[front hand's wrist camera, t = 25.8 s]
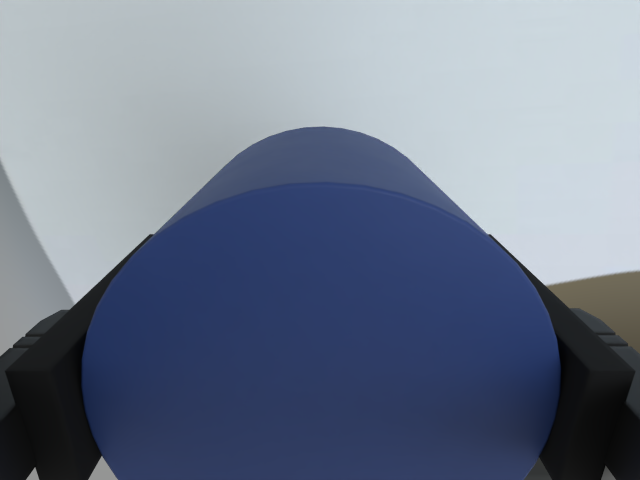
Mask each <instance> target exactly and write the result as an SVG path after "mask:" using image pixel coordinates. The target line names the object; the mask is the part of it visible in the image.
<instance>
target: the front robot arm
mask: <svg viewBox="0 0 640 480" xmlns="http://www.w3.org/2000/svg"><path fill="white" fill-rule="evenodd" d="M153 235H154V234H150V235H149V236H148V237H146V238H145V239H144V240H143V241H142V242H141V243H140V244H139V245H138V246H137V247H136V248H135V249H134V250H133V251H132V252H131V253H129V254H128V255H127V256H126V257H125V258H124V259H123V260H122V261H121V262H120V263H119V264H118V265H117V266H116V267H115V268H114V269H112V270H111V271H110V272H109V273H108V274H107V275H106V276H105V277H104V278H103V279H102V280H101V281H100V282H99V283H98V284H97V285H95V286H94V287H93V288H92V289H91V290H90V291H89V292H88V293H87V294H86V295H85V296H84V297H83V298H82V299H81V300H80V301H79V302H77V303H76V304H75V305H74V306H73V307H72V308H71V309H70V310H60V311H58V312H57V313H55V314H53V315H51V316H49V317H47V318H45V319H43V320H42V321H40V322H39V323H38V324H37V325H35V326H34V327H33V328H32V329H31V330H30V331H29V332H28V333H26V336H25V337H22V338H21V339H20V340H18V341H17V342H16V343H15V344H14V345H13V348H9V349H8V350H7V351H6V352H5V353H4V354H3V355H1V356H0V480H26V479H27V477H28V476H29V475H30V473H31V472H32V470H33V469H34V468H35V467H36V471H37V474H38V477H39V480H88V479H89V477H90V475H91V474H92V472H93V470H94V468H95V466H96V465H97V463H98V461H99V460H100V458H101V456H102V454H101V452H100V450H99V448H98V446H97V444H96V442H95V440H94V438H93V436H92V433H91V430H90V426H89V423H88V420H87V417H86V413H85V409H84V402H83V395H82V388H81V374H82V356H83V351H84V346H85V340H86V335H87V331H88V328H89V326H90V323H91V320H92V318H93V315H94V312H95V310H96V307H97V305H98V303H99V301H100V300H101V298H102V296H103V294H104V293H105V291H106V289H107V288H108V286H109V284H110V282H111V281H112V279H113V278H114V277H115V276H116V275H117V273H118V272H119V271H120V270H121V268H122V267H123V266H124V265H125V264H126V262H127V261H128V260H129V259H130V257H131V256H132V255H133V254H134V253H135V252H136V251H138V250H139V249H140V248H141V247H142V246H143V245H144V244H145V243H146V242H147V241H148V240H149V239H150V238H151V237H152V236H153ZM488 235H489V236H490V237H491V238H492V239H493V240H494V241H495V242H496V243H497V244H498V245H499V246H500V247H501V248H502V249H503V250H504V251H505V252H506V253H507V254H508V255H509V256H510V257H511V258H512V259H513V260H514V261H515V262H516V263H517V264H518V265H519V266H520V268H521V269H522V270H523V272H524V273H525V274H526V276H527V277H528V279H529V280H530V281H531V283H532V284H533V285H534V287H535V288H536V290H537V292H538V294H539V296H540V298H541V300H542V302H543V304H544V305H545V307H546V309H547V311H548V313H549V316H550V319H551V323H552V326H553V329H554V332H555V335H556V338H557V344H558V351H559V358H560V365H561V384H560V397H559V403H558V408H557V413H556V417H555V421H554V424H553V426H552V429H551V432H550V435H549V438H548V440H547V443H546V445H545V446H544V448H543V450H542V452H541V454H540V456H539V457H540V459H541V461H542V463H543V464H544V466H545V468H546V470H547V471H548V473H549V475H550V477H551V478H552V480H601V478H602V475H603V472H604V468H605V465H606V466H607V468H608V469H609V470H610V472H611V473H612V475H613V476H614V477H615V479H616V480H640V354H639V353H638V352H637V351H636V350H634V349H633V348H632V347H628V343H626V342H625V341H624V340H623V339H622V338H621V337H620V336H618V335H615V332H614V331H613V330H612V329H611V328H609V327H608V326H607V325H606V324H605V323H604V322H603V321H601V320H600V319H598V318H596V317H594V316H593V315H591V314H589V313H587V312H585V311H583V310H581V309H579V308H568V307H567V306H566V305H565V304H564V303H563V302H562V301H561V300H560V299H559V298H558V297H556V296H555V295H554V294H553V293H552V292H551V291H550V290H549V289H548V288H547V287H546V286H545V285H544V284H543V283H542V282H541V281H540V280H538V279H537V278H536V277H535V276H534V275H533V274H532V273H531V272H530V271H529V270H528V269H527V268H526V267H525V266H524V265H523V264H521V263H520V262H519V261H518V260H517V259H516V258H515V257H514V256H513V255H512V254H511V253H510V252H509V251H508V250H507V249H506V248H504V247H503V246H502V245H501V244H500V243H499V242H498V241H497V240H496V239H495V238H494V237H493V236H492V235H491V234H488Z"/></svg>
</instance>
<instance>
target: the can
mask: <svg viewBox="0 0 640 480" xmlns="http://www.w3.org/2000/svg"><path fill="white" fill-rule="evenodd" d="M560 384H561V365H560V358H559V351H558V344H557V338H556V335H555V332H554V329H553V326H552V323H551V319H550V316H549V313H548V311H547V309H546V307H545V305H544V304H543V302H542V300H541V298H540V296H539V294H538V292H537V290H536V288H535V287H534V285H533V284H532V283H531V281H530V280H529V279H528V277H527V276H526V274H525V273H524V272H523V270H522V269H521V268H520V266H519V265H518V264H517V263H516V262H515V261H514V260H513V259H512V258H511V257H510V256H509V255H508V254H507V253H506V252H505V251H504V250H503V249H502V248H501V247H500V246H499V245H498V244H497V243H496V242H495V241H494V240H493V239H492V238H491V237H490V236H489V235H488V234H487V233H486V232H484V231H483V230H482V229H481V228H480V227H479V226H478V225H477V224H476V223H475V222H474V221H473V220H472V219H471V218H470V217H469V216H468V215H467V214H466V213H465V212H464V211H463V210H462V209H460V208H459V207H458V206H457V205H456V204H455V203H454V202H453V201H452V200H451V199H450V198H449V197H448V196H447V195H446V194H445V193H444V192H443V191H442V190H441V189H440V188H439V187H438V186H436V185H435V184H434V183H433V182H432V181H431V180H430V179H429V178H428V177H427V176H426V175H425V174H424V173H423V172H422V171H421V170H420V169H419V168H418V167H417V166H416V165H415V164H414V163H412V162H411V161H410V160H409V159H408V158H407V157H406V156H404V155H403V154H402V153H400V152H399V151H398V150H396V149H395V148H393V147H392V146H390V145H388V144H386V143H384V142H382V141H381V140H379V139H377V138H374V137H371V136H369V135H366V134H363V133H361V132H356V131H352V130H347V129H343V128H333V127H306V128H300V129H294V130H289V131H285V132H282V133H279V134H276V135H272V136H269V137H267V138H265V139H263V140H261V141H259V142H257V143H255V144H253V145H251V146H250V147H248V148H247V149H245V150H244V151H242V152H241V153H239V154H238V155H237V156H236V157H234V158H233V159H232V160H231V161H230V162H229V163H228V164H227V165H226V166H224V167H223V168H222V169H221V170H220V171H219V172H218V173H217V174H216V175H215V176H214V177H213V178H212V179H211V180H210V181H209V182H208V183H207V184H206V185H205V186H204V187H203V188H202V189H201V190H200V191H199V192H198V193H197V194H195V195H194V196H193V197H192V198H191V199H190V200H189V201H188V202H187V203H186V204H185V205H184V206H183V207H182V208H181V209H180V210H179V211H178V212H177V213H176V214H175V215H174V216H173V217H172V218H171V219H170V220H169V221H168V222H167V223H165V224H164V225H163V226H162V227H161V228H160V229H159V230H158V231H157V232H156V233H155V234H154V235H153V236H152V237H151V238H150V239H149V240H148V241H147V242H146V243H145V244H144V245H143V246H142V247H141V248H140V249H139V250H138V251H136V252H135V253H134V254H133V255H132V256H131V257H130V259H129V260H128V261H127V262H126V264H125V265H124V266H123V267H122V268H121V270H120V271H119V272H118V273H117V275H116V276H115V277H114V278H113V279H112V281H111V282H110V284H109V286H108V288H107V289H106V291H105V293H104V294H103V296H102V298H101V300H100V301H99V303H98V305H97V307H96V310H95V312H94V315H93V318H92V320H91V323H90V326H89V328H88V331H87V335H86V340H85V346H84V351H83V356H82V374H81V388H82V395H83V402H84V409H85V413H86V417H87V420H88V423H89V426H90V430H91V433H92V436H93V438H94V440H95V442H96V444H97V446H98V448H99V450H100V452H101V454H102V456H103V458H104V460H105V461H106V463H107V464H108V466H109V467H110V469H111V470H112V472H113V473H114V475H115V476H116V478H117V479H118V480H524V478H525V477H526V476H527V474H528V473H529V472H530V470H531V469H532V467H533V466H534V465H535V463H536V461H537V459H538V458H539V456H540V454H541V452H542V450H543V448H544V446H545V445H546V443H547V440H548V438H549V435H550V432H551V429H552V426H553V424H554V421H555V417H556V413H557V408H558V403H559V397H560Z"/></svg>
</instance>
